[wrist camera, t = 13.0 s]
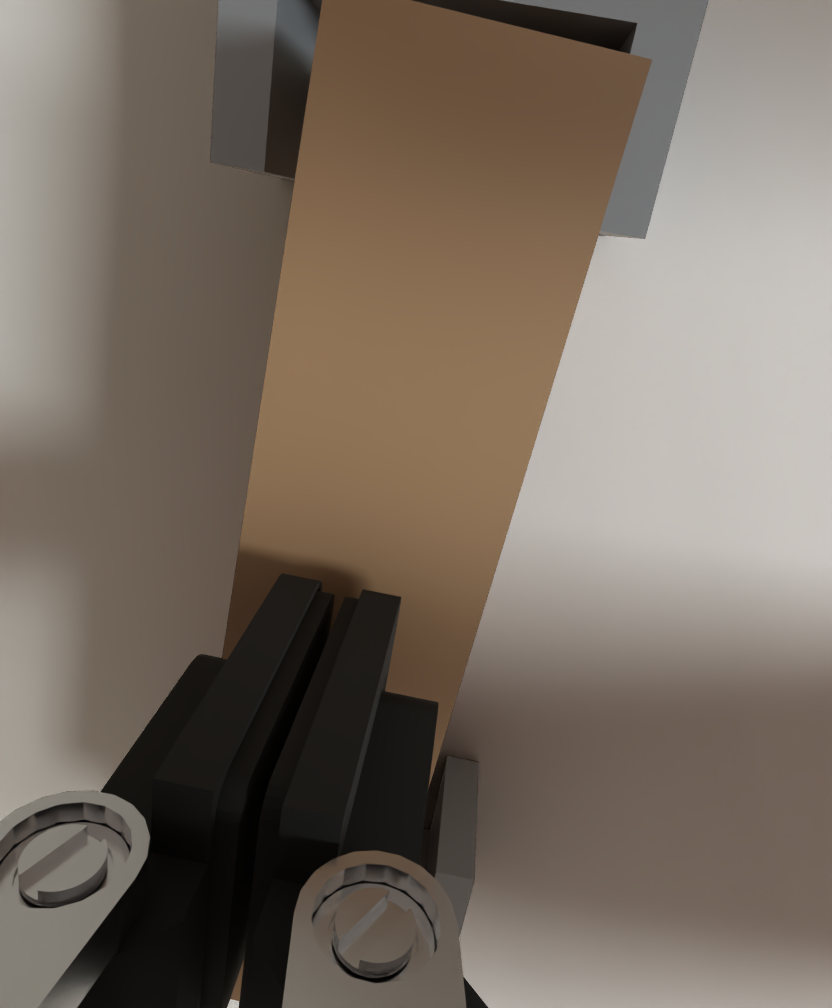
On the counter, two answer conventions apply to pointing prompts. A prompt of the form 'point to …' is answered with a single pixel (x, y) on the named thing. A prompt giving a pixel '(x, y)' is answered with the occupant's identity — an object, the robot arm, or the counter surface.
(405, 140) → the brown rectangular block
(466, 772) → the end cap
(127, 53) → the counter surface
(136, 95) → the counter surface
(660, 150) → the end cap
